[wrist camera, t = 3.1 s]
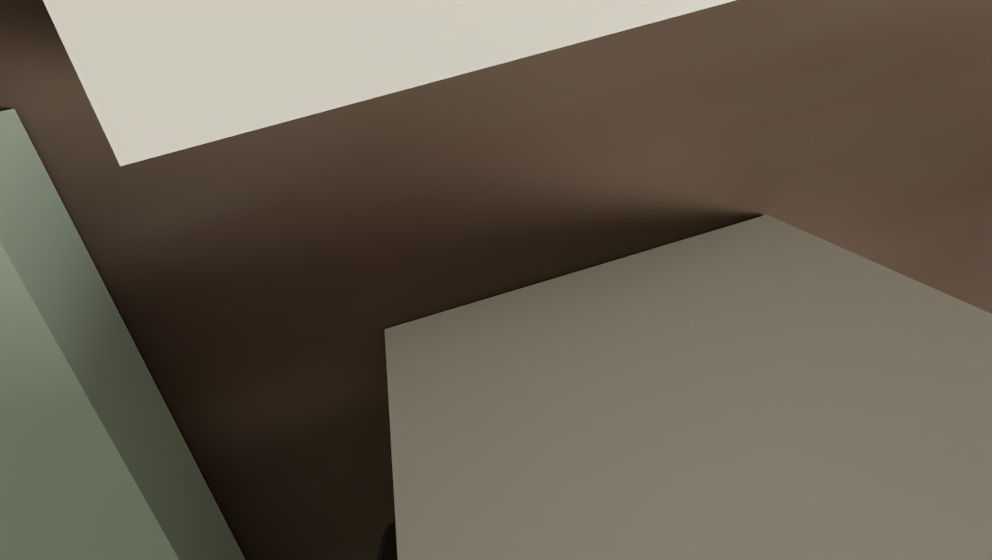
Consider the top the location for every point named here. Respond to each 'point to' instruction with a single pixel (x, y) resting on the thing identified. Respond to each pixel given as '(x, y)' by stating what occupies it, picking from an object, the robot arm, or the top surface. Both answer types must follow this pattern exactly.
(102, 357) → the coaster
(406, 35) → the cover
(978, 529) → the cream matte cube
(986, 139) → the top surface
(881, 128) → the top surface
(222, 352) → the top surface
